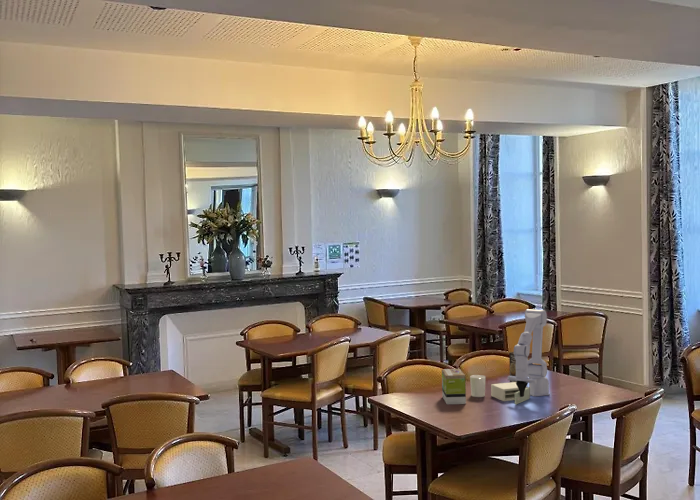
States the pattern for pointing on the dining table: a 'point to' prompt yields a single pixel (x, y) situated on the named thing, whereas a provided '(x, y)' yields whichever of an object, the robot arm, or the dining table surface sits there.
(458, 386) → the tea box
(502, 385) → the cabinet
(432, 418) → the dining table surface
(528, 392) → the door
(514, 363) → the coffee box
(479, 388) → the white cup
